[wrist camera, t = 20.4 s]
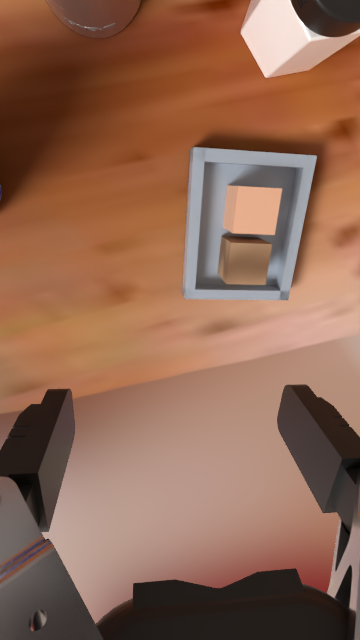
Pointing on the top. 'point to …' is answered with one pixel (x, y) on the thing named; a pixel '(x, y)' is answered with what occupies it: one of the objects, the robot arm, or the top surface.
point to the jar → (298, 32)
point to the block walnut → (244, 260)
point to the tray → (207, 228)
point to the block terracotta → (251, 210)
